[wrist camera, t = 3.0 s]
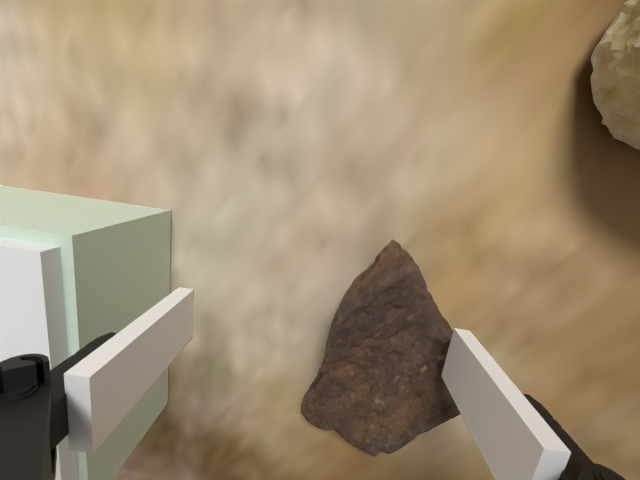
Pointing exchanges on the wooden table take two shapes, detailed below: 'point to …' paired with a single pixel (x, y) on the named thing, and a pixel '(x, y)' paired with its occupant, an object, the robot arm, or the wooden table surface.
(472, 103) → the wooden table surface
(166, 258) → the scale
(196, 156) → the wooden table surface
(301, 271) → the wooden table surface
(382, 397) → the rock
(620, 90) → the decorative object
